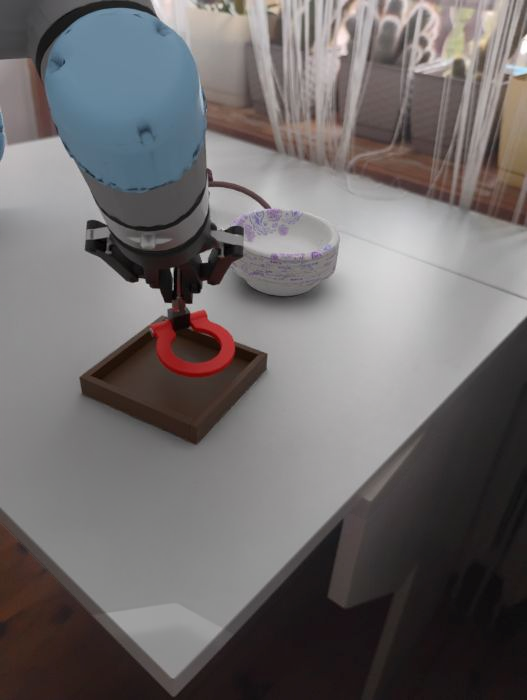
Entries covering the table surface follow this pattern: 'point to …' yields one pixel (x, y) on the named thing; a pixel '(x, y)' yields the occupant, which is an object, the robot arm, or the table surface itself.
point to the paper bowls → (286, 250)
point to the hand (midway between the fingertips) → (179, 291)
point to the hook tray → (172, 382)
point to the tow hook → (199, 322)
